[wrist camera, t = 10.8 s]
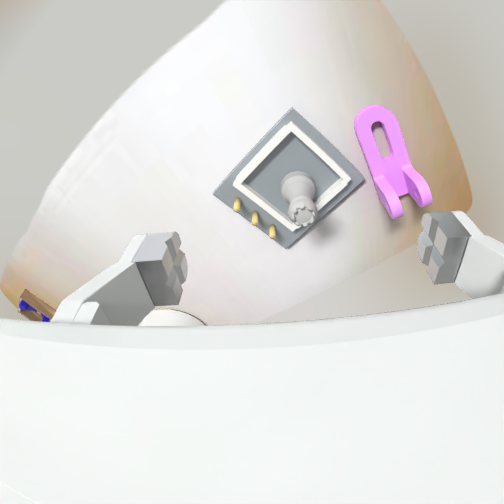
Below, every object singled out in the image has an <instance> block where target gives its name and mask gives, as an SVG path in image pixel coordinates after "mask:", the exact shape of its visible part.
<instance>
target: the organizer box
mask: <svg viewBox="0 0 504 504" xmlns="http://www.w3.org/2000/svg"><path fill="white" fill-rule="evenodd" d="M22 300H24V301H25V302H26V303H28V304H29V305H30V306H32V307H33V308H35V309H36V310H38V311H39V312H40V313H42V314H43V315H45V316H46V317H48V318H49V319H51V320H52V318H53V316H54V314H55V313H56V310H55V309H53V308H52V307H50V306H49V305H47V304H46V303H44V302H43V301H41V300H40V299H39V298H37V297H36V296H34V295H33V294H32V293H30V292H29V291H28V290H26V289H25V291H24V292H23V293H22V295H21V296H20V302H21V301H22ZM20 302H19V304H20ZM18 312H19V313H21V314H22V315H24V316H25V317H26V318H28V319H29V320H30V321H39V322H42V316H40V315H39V314H37V313H36V312H34V311H27V310H25V311H23V310H21V309H20V308H18Z"/></svg>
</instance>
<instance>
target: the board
mask: <svg viewBox="0 0 504 504" xmlns="http://www.w3.org/2000/svg"><path fill="white" fill-rule="evenodd" d="M295 171H301V172H305V173H307V174H309V175H310V176H311V177H312V179H313V180H314V183H315V189H316V191H315V195H314V198H313V199H312V200H313V202H314V204H315V205H316V207H317V209H318V214H317V218H316V219H315V220H314V223H313V224H311V223H310V224H309V225H308V227H304V228H303V226H301V225H300V226H299V227H298V226H297V225H295V224H294V223H293V222H292V221H291V220H290V219H289V216H288V210H289V203H287V202H286V201H285V200H284V198H283V197H282V194H281V190H280V185H281V181H282V179H283V178H284V177H285V176H286V175H287V174H289V173H290V172H295ZM364 179H365V178H364V177H363V175H362V174H361V173H360V172H359V171H358V170H357V169H356V168H355V167H354V166H353V165H352V164H351V163H350V162H349V161H348V160H347V159H346V158H345V157H344V156H343V155H342V154H341V153H340V152H339V151H338V150H337V149H336V148H335V147H334V146H333V145H332V144H331V143H330V142H329V141H328V140H327V139H326V138H325V137H324V136H323V135H322V134H321V133H320V132H319V131H318V130H316V129H315V128H314V127H313V126H312V125H311V124H310V123H309V122H308V121H307V120H306V119H304V118H303V117H302V116H301V115H300V114H299V113H298V112H297V111H296V110H294V109H293V108H291V109H290V110H289V111H288V112H287V113H286V114H285V115H284V116H283V117H282V118H281V119H280V120H279V121H278V122H277V123H276V124H275V125H274V126H273V127H272V128H271V129H270V130H269V131H268V132H267V133H266V134H265V136H264V137H263V138H262V139H261V140H260V141H259V142H258V143H257V144H256V145H255V146H254V147H253V148H252V149H251V151H250V152H249V153H248V154H247V155H246V156H245V157H244V158H243V159H242V160H241V161H240V163H239V164H238V165H237V166H236V167H235V168H234V169H233V170H232V171H231V173H230V174H229V175H228V176H227V177H226V178H225V179H224V180H223V181H222V183H221V184H220V185H219V186H218V187H217V188H216V189H215V191H214V193H213V195H214V196H216V197H217V198H218V199H220V200H221V201H222V202H224V203H225V204H226V205H228V206H229V207H231V208H232V209H233V210H234V212H237V213H239V214H240V215H241V216H243V217H244V218H245V219H247V220H248V221H249V222H251V223H252V225H253V226H256V227H258V228H259V229H260V230H262V231H263V232H264V233H266V234H267V235H268V236H269V237H270V238H271V239H274V240H275V241H276V242H277V243H279V244H280V245H281V246H283V247H284V248H285V249H286V248H287V247H288V246H290V245H291V244H292V243H293V242H294V241H295V240H296V239H298V238H299V237H300V236H301V235H302V234H303V233H304V232H306V231H307V230H308V229H309V228H310V227H311V226H312V225H314V224H315V223H316V222H317V221H318V220H319V219H320V218H322V217H323V216H324V215H325V214H326V213H327V212H328V211H329V210H331V209H332V208H333V207H334V206H335V205H336V204H337V203H339V202H340V201H341V200H342V199H343V198H344V197H345V196H346V195H348V194H349V193H350V192H351V191H352V190H353V189H354V188H355V187H356V186H358V185H359V184H360V183H361V182H362V181H363V180H364Z"/></svg>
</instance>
